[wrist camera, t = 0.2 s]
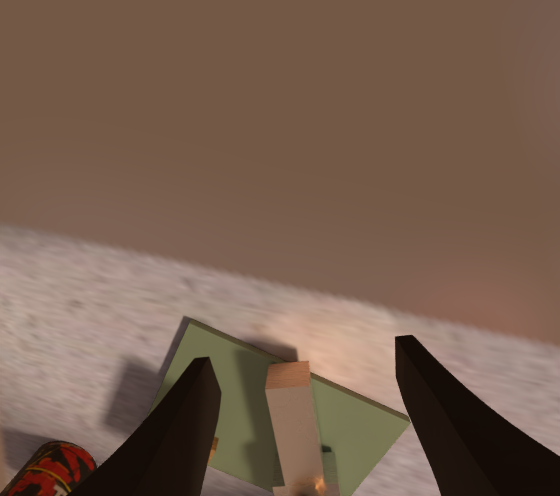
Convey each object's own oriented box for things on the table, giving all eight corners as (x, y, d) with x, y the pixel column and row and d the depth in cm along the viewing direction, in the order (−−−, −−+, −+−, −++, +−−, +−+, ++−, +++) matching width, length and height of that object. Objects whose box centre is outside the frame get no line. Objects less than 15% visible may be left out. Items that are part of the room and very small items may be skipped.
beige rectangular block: (340, 495, 28) (344, 529, 25) (284, 497, 28) (282, 531, 26) (321, 359, 23) (324, 384, 21) (255, 365, 24) (250, 390, 22)
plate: (332, 510, 29) (333, 517, 29) (141, 430, 28) (138, 436, 27) (408, 416, 26) (410, 422, 25) (192, 318, 24) (189, 323, 24)
